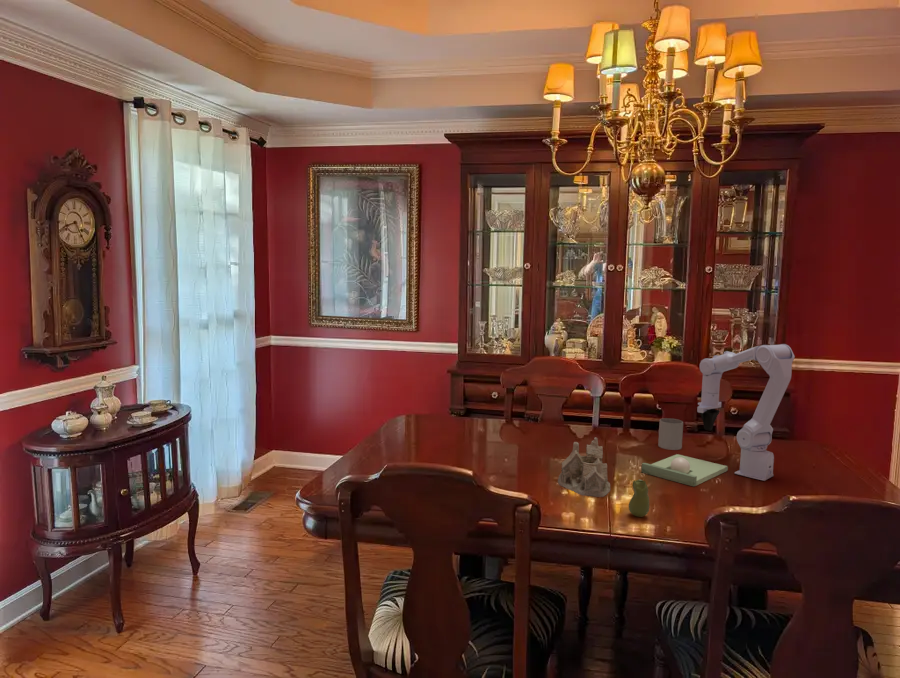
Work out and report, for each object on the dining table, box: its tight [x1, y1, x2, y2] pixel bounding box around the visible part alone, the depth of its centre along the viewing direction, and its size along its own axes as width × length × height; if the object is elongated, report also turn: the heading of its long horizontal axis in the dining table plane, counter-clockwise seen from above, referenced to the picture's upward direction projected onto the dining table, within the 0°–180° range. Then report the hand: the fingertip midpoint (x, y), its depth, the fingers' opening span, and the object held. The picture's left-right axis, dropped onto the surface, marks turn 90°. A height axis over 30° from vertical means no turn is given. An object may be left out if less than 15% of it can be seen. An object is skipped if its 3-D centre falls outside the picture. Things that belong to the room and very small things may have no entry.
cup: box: [657, 417, 684, 451], centre depth 236 cm, size 8×8×10 cm
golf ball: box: [671, 457, 690, 474], centre depth 203 cm, size 6×6×6 cm
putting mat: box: [640, 453, 729, 488], centre depth 207 cm, size 18×24×3 cm
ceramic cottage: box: [557, 437, 611, 498], centre depth 190 cm, size 16×16×15 cm
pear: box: [628, 479, 650, 518], centre depth 169 cm, size 6×5×10 cm
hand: (708, 429), depth 221 cm, fingers closed
